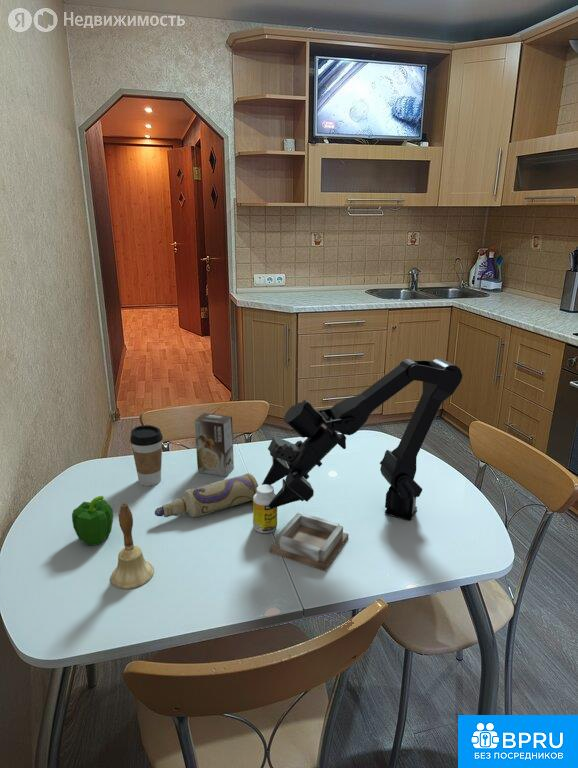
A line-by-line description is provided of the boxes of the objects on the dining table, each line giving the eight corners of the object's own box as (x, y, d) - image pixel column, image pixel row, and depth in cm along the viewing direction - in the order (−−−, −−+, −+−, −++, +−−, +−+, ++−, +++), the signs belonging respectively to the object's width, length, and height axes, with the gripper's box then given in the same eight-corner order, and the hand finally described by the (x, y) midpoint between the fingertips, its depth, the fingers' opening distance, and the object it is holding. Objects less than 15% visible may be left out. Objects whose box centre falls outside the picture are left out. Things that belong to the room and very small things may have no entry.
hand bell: (108, 592, 95) (99, 519, 90) (112, 564, 102) (104, 496, 98) (153, 585, 96) (147, 513, 92) (154, 559, 104) (148, 491, 99)
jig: (348, 537, 112) (348, 524, 111) (325, 570, 101) (325, 556, 100) (296, 522, 118) (297, 509, 117) (269, 551, 107) (269, 538, 106)
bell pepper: (72, 552, 106) (67, 511, 103) (77, 531, 113) (72, 492, 110) (114, 546, 108) (109, 506, 105) (116, 525, 116) (112, 487, 113)
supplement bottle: (264, 537, 112) (263, 497, 109) (248, 527, 116) (247, 488, 113) (282, 527, 116) (282, 488, 112) (266, 518, 119) (266, 479, 116)
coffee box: (235, 467, 144) (233, 415, 140) (226, 477, 139) (224, 424, 134) (206, 462, 147) (204, 412, 142) (196, 472, 141) (193, 419, 136)
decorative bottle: (247, 490, 132) (247, 468, 130) (260, 504, 126) (260, 480, 124) (150, 516, 120) (149, 491, 118) (159, 532, 114) (157, 506, 112)
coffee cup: (153, 470, 142) (149, 421, 137) (172, 479, 137) (168, 429, 132) (127, 481, 136) (122, 430, 131) (146, 491, 131) (141, 439, 126)
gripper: (281, 412, 118) (236, 458, 119) (300, 444, 101) (246, 497, 102) (312, 440, 122) (268, 484, 123) (335, 475, 105) (283, 526, 106)
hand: (266, 496), depth 113 cm, fingers open, 9 cm apart
